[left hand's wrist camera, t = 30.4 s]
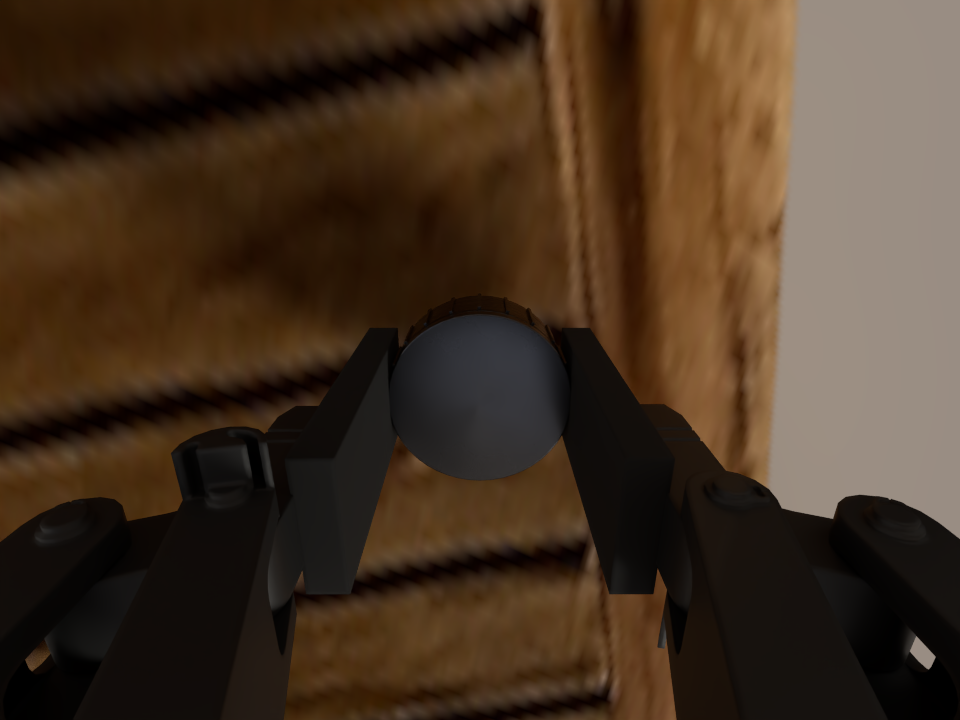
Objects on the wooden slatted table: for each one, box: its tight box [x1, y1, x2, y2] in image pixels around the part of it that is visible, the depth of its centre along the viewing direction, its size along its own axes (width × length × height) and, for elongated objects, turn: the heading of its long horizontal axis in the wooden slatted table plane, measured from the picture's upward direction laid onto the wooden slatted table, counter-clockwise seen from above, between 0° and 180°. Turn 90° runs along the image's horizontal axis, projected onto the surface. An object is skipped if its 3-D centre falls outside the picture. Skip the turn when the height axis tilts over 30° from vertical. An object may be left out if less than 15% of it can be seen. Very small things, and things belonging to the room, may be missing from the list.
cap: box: [389, 294, 571, 480], centre depth 13 cm, size 5×5×2 cm
